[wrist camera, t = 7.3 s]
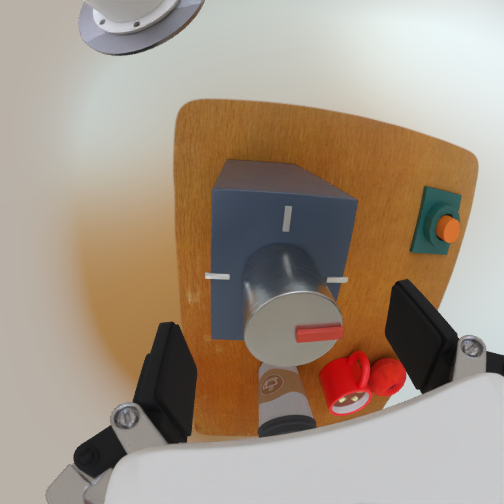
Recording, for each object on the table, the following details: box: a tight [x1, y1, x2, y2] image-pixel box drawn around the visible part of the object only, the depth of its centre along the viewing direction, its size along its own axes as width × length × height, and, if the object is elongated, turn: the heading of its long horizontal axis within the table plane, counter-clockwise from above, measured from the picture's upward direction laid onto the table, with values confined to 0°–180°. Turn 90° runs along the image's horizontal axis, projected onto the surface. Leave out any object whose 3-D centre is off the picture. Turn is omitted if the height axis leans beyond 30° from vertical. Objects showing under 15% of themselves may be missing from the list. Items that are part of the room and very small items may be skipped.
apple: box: [367, 358, 406, 397], centre depth 43 cm, size 8×8×7 cm
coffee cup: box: [258, 362, 317, 438], centre depth 37 cm, size 8×8×15 cm
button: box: [436, 215, 460, 243], centre depth 32 cm, size 4×4×2 cm
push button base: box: [410, 186, 461, 255], centre depth 33 cm, size 10×8×2 cm
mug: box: [319, 351, 372, 416], centre depth 41 cm, size 8×12×8 cm, turn 170°
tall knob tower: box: [205, 159, 358, 340], centre depth 24 cm, size 10×9×18 cm
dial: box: [242, 244, 344, 367], centre depth 14 cm, size 4×4×5 cm
